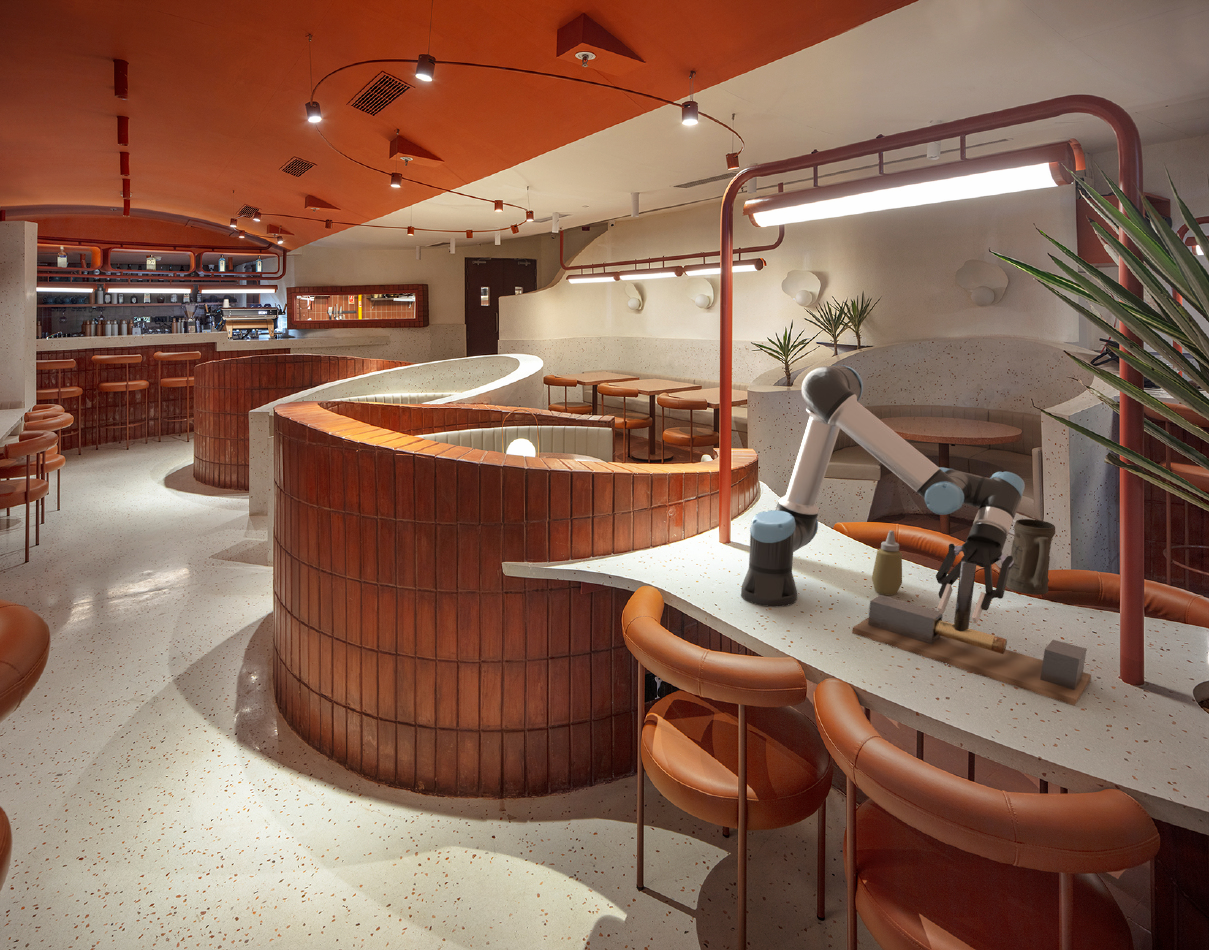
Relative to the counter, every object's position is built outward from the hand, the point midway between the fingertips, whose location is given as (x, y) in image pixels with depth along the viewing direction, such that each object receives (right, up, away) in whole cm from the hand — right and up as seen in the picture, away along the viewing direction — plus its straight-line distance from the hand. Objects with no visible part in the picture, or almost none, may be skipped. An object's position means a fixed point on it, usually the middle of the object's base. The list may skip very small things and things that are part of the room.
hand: (957, 615), depth 150 cm
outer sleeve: (-6, -6, +13) cm, 16 cm away
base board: (+3, -10, +4) cm, 11 cm away
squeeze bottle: (+2, -2, +42) cm, 42 cm away
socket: (+17, -11, -10) cm, 22 cm away
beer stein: (+43, -2, +43) cm, 61 cm away
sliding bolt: (-1, -6, +7) cm, 9 cm away
